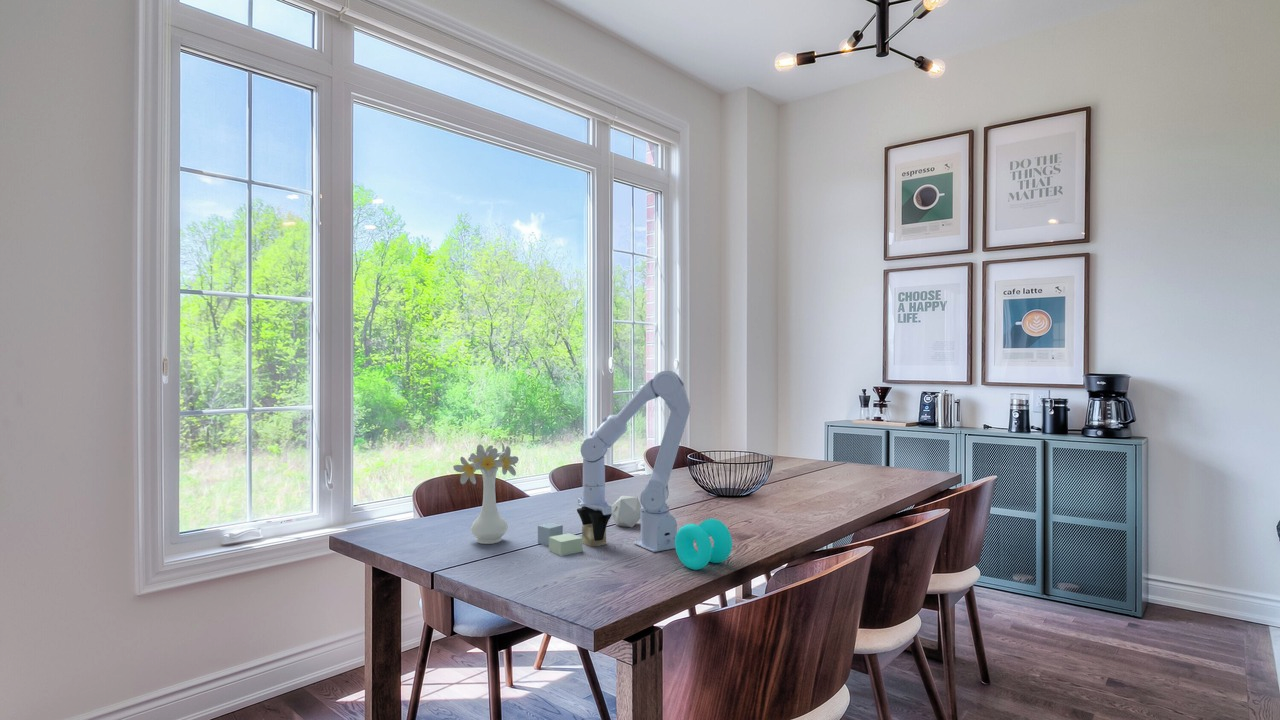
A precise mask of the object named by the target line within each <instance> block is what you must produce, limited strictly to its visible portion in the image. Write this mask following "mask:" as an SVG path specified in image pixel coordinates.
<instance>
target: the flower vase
mask: <svg viewBox="0 0 1280 720" xmlns="http://www.w3.org/2000/svg"><path fill="white" fill-rule="evenodd" d="M501 449H502V450H501V451H502V452H498V449H497V448H496V447H495V448H494V447H493V444H492V445H489V446H487V447H486V448H484V446H483V445H482V444H478V445H477V446H476V452H475V453H474V452H471V453H470V456H469V457H468V458H467V459H466V458H465V457H464V456H460V458H459V459H460V460H459V461H460V463H461V464H455V465H453V466H452V467H453V470H454V471H456V472H457V473H462V474H461V475H460V478H459V482H460V484H462V485H465V484H466V483H467V481H468V480H469V481H470V482H471V484H473V485H476V484H477V479H476V476H475V472H476V471H480V473H481V475H482V476H481V477H482V481H483V483H482V484H483V485H482V486H483V488H482V489H483V492H482V494H483V495H482V506H481V509H480V513H479V515H478V516H477V517H476V518H475V519H474V521H473V522H472V524H471V528H470V531H471V534H472V535H473V537H475V538H476V541H477V543H478V544H482V545H492V544H498V543H500V542H501V541H502V540H503V539H502V537H503V536H504V535H506V533H507V532H508V527H509V526H508V523H507V521H506V520H505V518H504V517H503V516H502V515H501V514H500V512H499V510H498V508H497V499H496V478H497V472H498V470H499V468H501V472H502V473H501V474H503V476H505V475H507V473H508V472H509V473H510V475H512V476H514V477H515V476H516V475H517V472H516V469H515V468H517V465H516V464H517V463H518V462H519V457H518V456H517V455H516V456H515V455H514V456H511V451H512V450H511V447H510V446H509V445H506V446H505V445H504V442H501ZM469 462H470V463H469Z"/></svg>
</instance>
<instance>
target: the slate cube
mask: <svg viewBox="0 0 1280 720" xmlns="http://www.w3.org/2000/svg"><path fill="white" fill-rule="evenodd" d="M563 530H564V524H563V525H562V524H560V523H555V522H548V523H543V524H538V525H537V543H538V544H541V545H544V546H547V547H549V537H551V536H557V535H562V534H564V531H563Z"/></svg>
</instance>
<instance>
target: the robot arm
mask: <svg viewBox="0 0 1280 720" xmlns="http://www.w3.org/2000/svg"><path fill="white" fill-rule="evenodd" d="M685 388H686V386H685V383H684V382H683V380H682V379H681V377H680V376H679V375H678V374H677V373H676V372H675V371H672V370H663V371H660V372H658V373H657V374H656V373H655V375H654V377H653V378H651V379H650V380H647V382H646V383H645V384H643V385H642V386H641V387H640V388H639V390H638V391H637V392H636V393H635V394H634V395H633V396H632V397H631V399H629V401H628V402H627V403H626V404H625V405H624V407H622V409H621V410H620V411H619V412H618V414H609V415H608V416H604V417H603V419H602V420H601V421H602V423H601V424H600V425H599V426H598V427H597V429H595V430H593V431H591V432H590V433H589V436H591V437H589V438H586V439H584V440H583V442H582V444H581V446H580V454H581V457H582V496H579V497H577V505H578V506H579V508H577V509H576V511H577V512H576V513H578V516H579V518H580V521H581V523H582V525H587V524H592V525H593V533H594V539H595V541H599V540H603V538H604V533H605V529H606V530H607V525H608V523H609V521H610V519H611V517H613V516H612V513H611V506H612V505H609V504H608V502H607V501H606V466H605V455H606V454H607V452H608V449H611V448H612V446H614V444H615V443H616V442H617V441H618V440H619V439H620V438H621V437H622V436H623V435H624V434H625V433H626V431H627V430H628V429H627V428H628V427H627V423H628V422H629V420H631V418H633V417H634V416H635V414H637V412H639V410H641V408H643V406H645V405H646V403H648V401H649V402H650V401H651V400H654V399H657V398H662V400H663V401H664V402H665V404H666V406H667V408H668V409H669V411H670V412H669V416H668V419H667V423H666V426H665V429H664V433H663V436H662V440H661V441H660V442H661V443H660V446H659V448H658V449H659V450H658V453H657V456H656V459H655V462H654V466H653V469H652V472H651V475H650V477H649V479H648V483H647V484H646V485H645V487H644V489H643V490H642V491H641V494H640V497H639V502H640V505H641V519H640V540H636V541H633V544H634V545H636V546H638V547H641V548H643V549H645V550H648V551H651V552H652V553H656V552H661V551H666V550H673V549H676V548H675V539H676V535H677V533H678V522H677V519H676V518H675V517H674V516H673V515H672V514H671V512H670V506H669V505H668V504H667V503H666V502H667V499H668V498H669V487H668V486H669V482H670V477H671V473H672V470H673V467H674V464H675V460H676V459H677V454H678V451H679V447H680V444H681V442H682V438H683V434H684V432H685V428H686V425H687V422H688V419H689V415H690V411H691V404H690V401H689V398H688V395H687V391H686V389H685Z"/></svg>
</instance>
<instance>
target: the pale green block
mask: <svg viewBox="0 0 1280 720" xmlns="http://www.w3.org/2000/svg"><path fill="white" fill-rule="evenodd" d="M548 551H550V552H552V553H555V554H556V555H559V556H567V555H571V554H577V553H582V552H583V543H582V536H579V535H575V534H573V533H570V532H569V533H563V534H562V535H557V536H551V537H549V546H548Z"/></svg>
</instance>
